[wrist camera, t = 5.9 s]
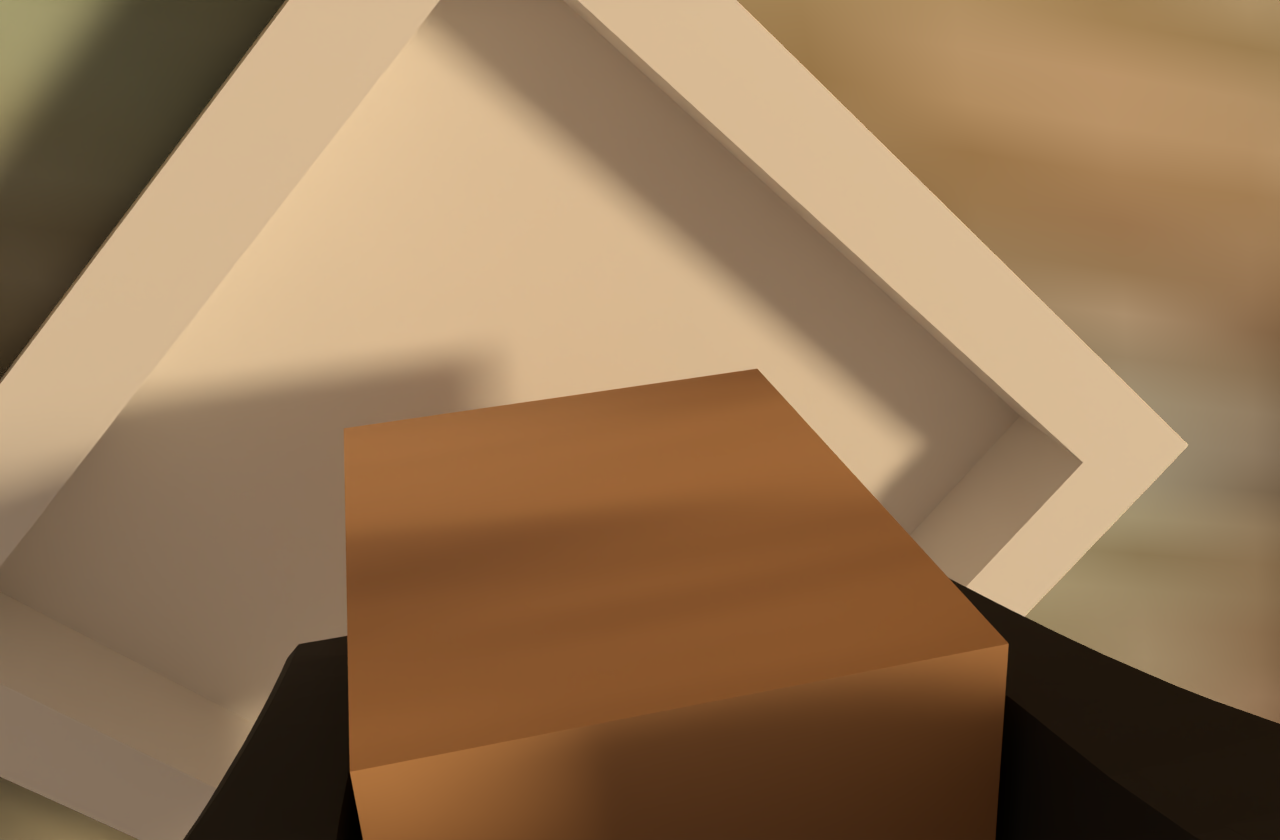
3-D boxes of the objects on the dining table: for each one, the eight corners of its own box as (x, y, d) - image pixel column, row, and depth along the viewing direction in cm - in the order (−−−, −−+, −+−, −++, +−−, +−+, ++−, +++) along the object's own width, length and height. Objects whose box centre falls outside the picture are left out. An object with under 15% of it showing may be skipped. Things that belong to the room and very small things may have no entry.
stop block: (766, 702, 14) (977, 1095, 9) (403, 773, 13) (442, 1237, 8) (756, 368, 12) (1008, 643, 8) (343, 428, 11) (349, 772, 7)
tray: (581, 939, 18) (608, 1051, 17) (-149, 577, 14) (-220, 677, 12) (1096, 386, 17) (1188, 445, 15) (457, -229, 12) (479, -254, 10)
